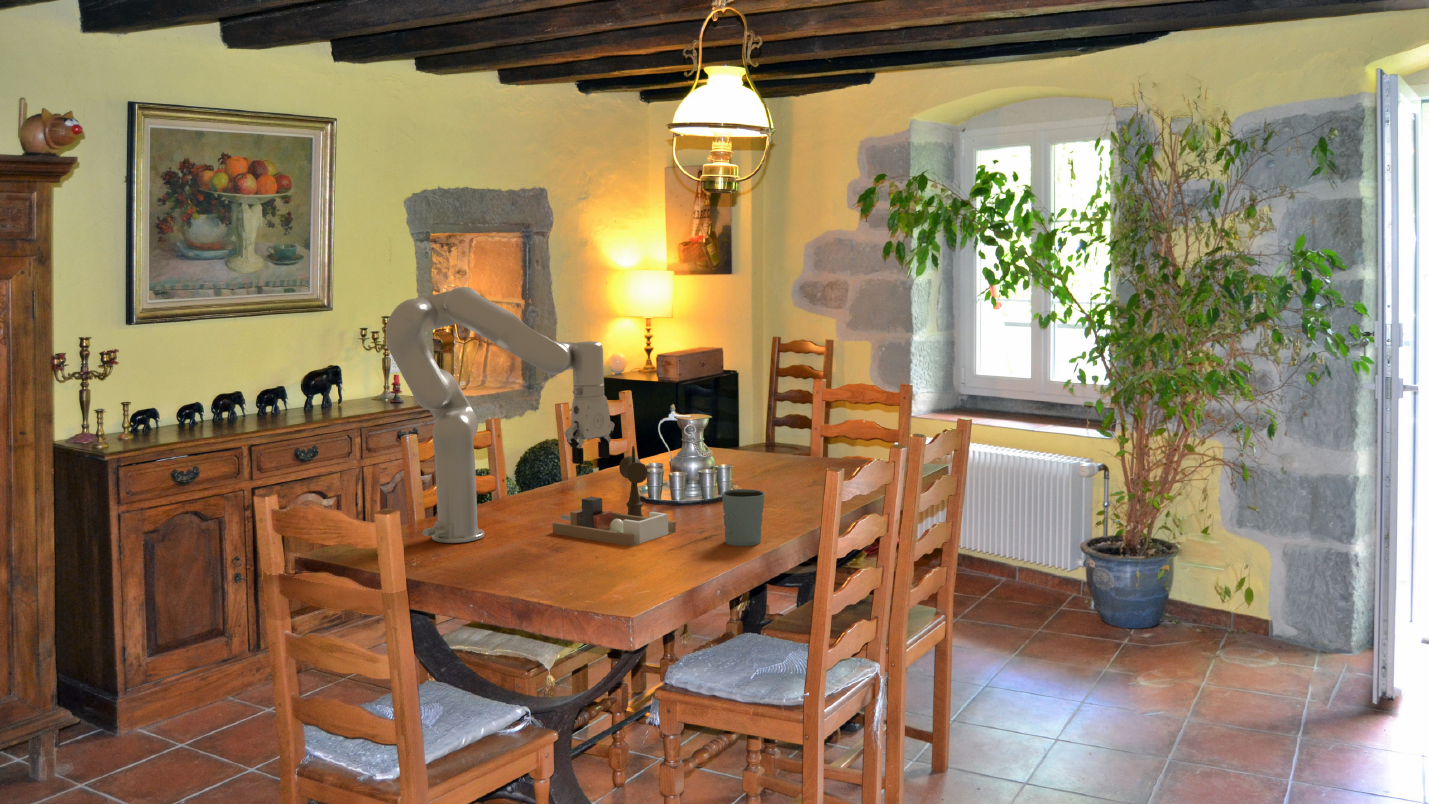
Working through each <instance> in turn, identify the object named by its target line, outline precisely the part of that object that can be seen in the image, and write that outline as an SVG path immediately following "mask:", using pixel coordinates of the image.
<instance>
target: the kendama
mask: <svg viewBox="0 0 1429 804" xmlns="http://www.w3.org/2000/svg"><path fill="white" fill-rule="evenodd" d="M618 469H619V473H620V475H621V476H622V477H623V478H625V479H627V480H628V481H629V482H630V492H629V497H628V501H627V502H626V503H625V505H626V507H627V514H626V515H633V516H639V517H644V516H643V513H642V507H643V502H642V501H641V498H640V493H639V488H638V484H641V483H643V482H645V481H646V479H647V478H648V473H649V471H648V467H647V465H646V464H644V463H643V462H641V460H640V459H639V458H638V457H637V456H636V449H635V446H634V445H633V446H632V447H631V455H628V456H625V457H624V458H622V459H621V461H619V466H618Z"/></svg>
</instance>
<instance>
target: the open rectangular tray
mask: <svg viewBox="0 0 1429 804" xmlns="http://www.w3.org/2000/svg"><path fill="white" fill-rule="evenodd" d="M602 511H603V513H605V512H606V511H604V510H602ZM612 515H613V520H614V519H621V520H622V521H623V531H622V532H614V531H612V530H611V528H609V529H606V530H601V529H595V528H589V527H582V523H581V522H579V517H580V518H582V508H580V509H577V510H574V511H570V513H569V516H570V518H571V521H570V524H569V523H561V522H556V521H555V522H552V534H557V535H561V536H562V535H563V536H569V537H574V538H580V539H586V540H592V541H597V542H604V543H611V544H614V545H615V544H616V545H622V546H628V547H634V546H636V545H640V544H643V543H646V542H649V541H651V540H656V539H658V538H662V537H664V536H668V535H671V534H674V533H676V532H677V528H676V526H677V523H676V521H672V520H669V514H668V513H663V512H657V511H650V512H648V515H649V516H648V517H645V516H643V517H639V516H633V515H627V514H624V513H617V512H612Z"/></svg>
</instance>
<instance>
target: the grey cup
mask: <svg viewBox="0 0 1429 804" xmlns="http://www.w3.org/2000/svg"><path fill="white" fill-rule="evenodd" d="M721 496H722V506H723V507H722V510H723V513H724V515H723V526H724V541H725V544H727V545H730V546H733V547H751V546H755V545H756V546H757V545H759V544H760V543H761V541H762V526H763V512H764V506H765V505H764V504H765V503H764V502H765V497H766V496H765V492H764V491H761V490H756V489H749V488H748V489H747V488H746V489H744V488H741V489H740V488H739V489H737V488H736V489H727V490H725V491H722V492H721Z"/></svg>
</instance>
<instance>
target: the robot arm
mask: <svg viewBox="0 0 1429 804" xmlns="http://www.w3.org/2000/svg"><path fill="white" fill-rule="evenodd" d="M385 325H386V327H385V342H386V345H387V349H388V351H389V354H390V355H391V357H392V359H393V361H394V363H395V364H396V366H397V368H398V370H399V372H400V374H401V376H402V378H403V379H404V381H405V383H406V385H407V386H408V388H409V390H410V391H411V394H412V396H413V398H414V400H415V401H416V403H417V404H418V405H419V406H420V407H421V408H422V409H426V410H428V411H429V412H430V413H431V415H432V417H433V418H434V420H435V422H434V425H433V427H432V444H433V445H432V446H433V452H434V454H433V455H434V461H435V462H434V466H435V484H436V485H435V486H436V507H437V508H436V510H437V521H434V525H432V527H428V528H424V529H423V530H422V535H423V536H424V537H426V538H427V537H431V539H432V540H433V542H434V541H435V542H437V543H441V544H442V543H443V544H444V543H445V544H458V543H459V544H460V543H468V542H473V541H477V540H481V539H483V538H484V537H485V531H484V530H483V529H481V528H479V527H478V505H477V504H478V502H477V500H478V499H477V479H476V478H477V477H476V475H477V474H476V459H475V458H476V457H475V449H474V448H475V447H474V438H475V436H476V434H477V431H478V430H479V429H478V427H479V422H478V417H477V415H476V413H475V411H474V409H473V408H472V406H471V404H470V402H469V401H468V398H467V397H466V396H465V393H464V392H463V390H462V388H461V386H460V385H459V383H458V381H457V379H456V378H455V377H454V376H453V375H452V374H451V373H450V372H449V371H447V370H445V369H443V368H440V367H439V365H438V363H437V362H436V360H435V358H434V356H433V354H432V352H431V351H430V349H429V347H428V346H427V345H426V344H425V343H426V342H425V341H424V338H423V333H425V332H426V333H427V332H430V331H433V330H437V329H441V328H446V327H450V326H453V325H460V326H462V327H463V328H466V329H467V330H469V331H472V332H474V333H475V334H477V335H479V336H481V337H483V338H485V340H488V341H489V342H491V343H494V344H495V345H497V346H499V347H500V348H502V349H503V350H504V351H507V352H509V353H510V354H512V355H514V356H516V357H518V358H519V359H521V360H522V361H523V362H527V363H528V364H530V365H532V366H534V367H536V368H537V369H539V370H541V371H543V372H545V373H547V374H549V375H559V374H562V373H564V372H565V371H567V370H572V384H573V389H572V394H573V398H572V403H571V413H570V414H571V415H570V416H571V418H570V426H568V428H567V429H566V430H565V431H564V436H565V438H566V442H567V443H568V445H569V447H570V448H571V461H572V464H573V465H574V464H575V465H583V464H584V463H585V461H584V456H585V455H584V448H583V447H582V446H583V444H584V442H585V440H588V441H589V440H595V439H598V440H599V441H597V453H598V454H597V455H598V456H597V457H598V458H600V459H609V458H610V457H611V456H610V442H611V441H612V439H611V438H612V437H613V434H614V432H613V431H614V428H615V425H616V424H615V423H614V422H613V421H612V420H611V417H610V407H609V402H608V398H607V396H606V395H605V376H604V375H605V373H604V371H605V370H604V347H603V345H602V343H601V342H599V341H592V340H591V341H586V340H585V341H577V342H570V341H562V340H561V341H560V340H556V341H555V340H552V339H550V338H549V337H547V336H545V335H543V334H541V333H540V332H538V331H536V330H534V329H533V328H531V327H530V326H529V325H527V324H525V322H523V321H522V320H521V318H519V317H518V315H517V314H514V313H513V312H511V310H510V311H509V310H507V309H506V308H504V307H501V306H500V305H498V304H496V303H494V302H493V301H490V300H489V299H487V298H485V297H484V296H482V295H480V293H478V292H477V290H475V289H473V288H471V287H469V286H460V287H456V288H453V289H451V290H448V291H444V292H439V293H436V294H431V295H426V296H422V297H418V298H409V299H406V300H403V301H401V302H400V303H399V304H398V305H397V306H396V307H395V308H394V310H393V311H392V312H391V314H390V316H389V318H388V320H387V322H386V324H385Z"/></svg>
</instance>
